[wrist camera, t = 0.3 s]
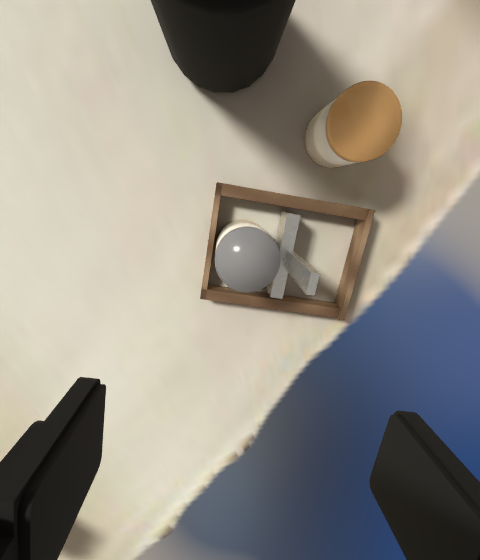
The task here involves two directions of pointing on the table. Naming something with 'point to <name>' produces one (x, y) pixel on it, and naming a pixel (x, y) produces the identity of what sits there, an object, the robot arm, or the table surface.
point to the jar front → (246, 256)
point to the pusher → (291, 260)
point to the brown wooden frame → (287, 302)
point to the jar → (355, 126)
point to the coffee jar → (223, 38)
